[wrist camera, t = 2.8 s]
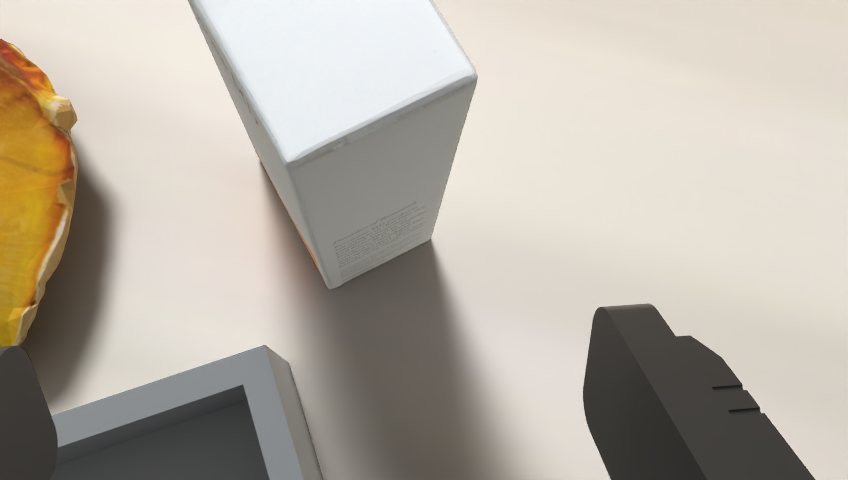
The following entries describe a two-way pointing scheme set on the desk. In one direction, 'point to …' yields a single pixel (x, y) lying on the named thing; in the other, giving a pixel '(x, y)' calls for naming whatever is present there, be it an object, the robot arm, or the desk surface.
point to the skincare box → (347, 116)
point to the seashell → (31, 188)
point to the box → (194, 427)
